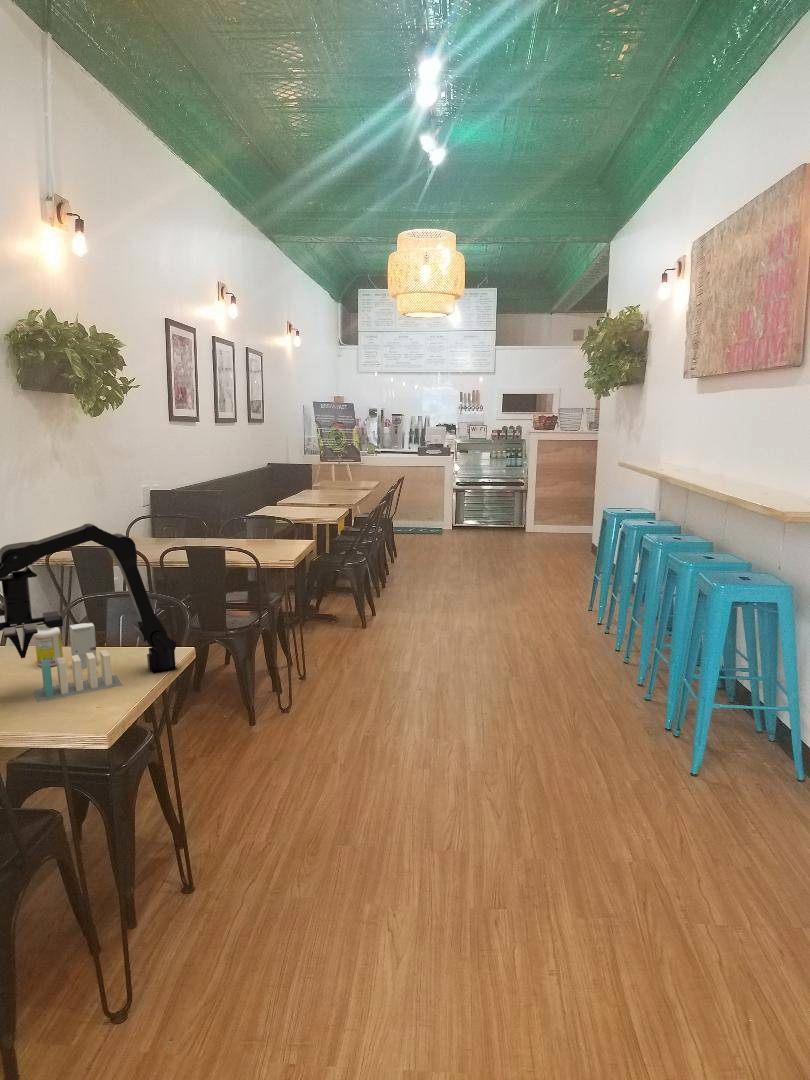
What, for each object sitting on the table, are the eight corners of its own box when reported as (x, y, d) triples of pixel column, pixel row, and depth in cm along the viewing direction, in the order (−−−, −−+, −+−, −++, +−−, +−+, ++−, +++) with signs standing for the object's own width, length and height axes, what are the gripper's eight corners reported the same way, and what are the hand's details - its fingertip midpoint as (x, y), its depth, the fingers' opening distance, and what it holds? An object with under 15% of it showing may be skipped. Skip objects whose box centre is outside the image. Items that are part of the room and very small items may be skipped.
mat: (116, 676, 195) (116, 674, 195) (122, 686, 188) (122, 685, 187) (33, 691, 185) (33, 689, 185) (37, 703, 177) (37, 701, 177)
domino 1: (65, 686, 187) (63, 657, 185) (68, 692, 183) (65, 662, 181) (59, 687, 186) (56, 658, 184) (61, 694, 182) (58, 664, 180)
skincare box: (74, 671, 199) (70, 629, 197) (71, 666, 203) (68, 625, 200) (98, 666, 202) (95, 625, 200) (95, 662, 206) (91, 621, 204)
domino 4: (108, 678, 192) (106, 650, 191) (112, 684, 188) (110, 655, 187) (102, 679, 191) (100, 651, 190) (105, 685, 187) (103, 656, 186)
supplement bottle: (54, 658, 209) (50, 615, 207) (68, 662, 206) (64, 618, 204) (32, 665, 204) (28, 621, 201) (46, 669, 200) (42, 624, 198)
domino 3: (94, 681, 190) (92, 652, 189) (98, 687, 186) (95, 657, 185) (88, 682, 190) (85, 653, 188) (91, 688, 185) (88, 658, 184)
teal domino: (50, 689, 185) (47, 659, 183) (53, 695, 181) (50, 665, 179) (43, 690, 184) (41, 660, 183) (46, 697, 180) (43, 666, 178)
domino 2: (80, 683, 189) (77, 654, 187) (83, 690, 184) (80, 660, 183) (73, 685, 188) (71, 655, 186) (76, 691, 184) (74, 661, 182)
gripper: (54, 584, 187) (60, 642, 190) (-29, 594, 177) (-22, 655, 180) (60, 594, 177) (65, 654, 180) (-28, 604, 168) (-21, 668, 171)
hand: (22, 657), depth 178 cm, fingers closed
